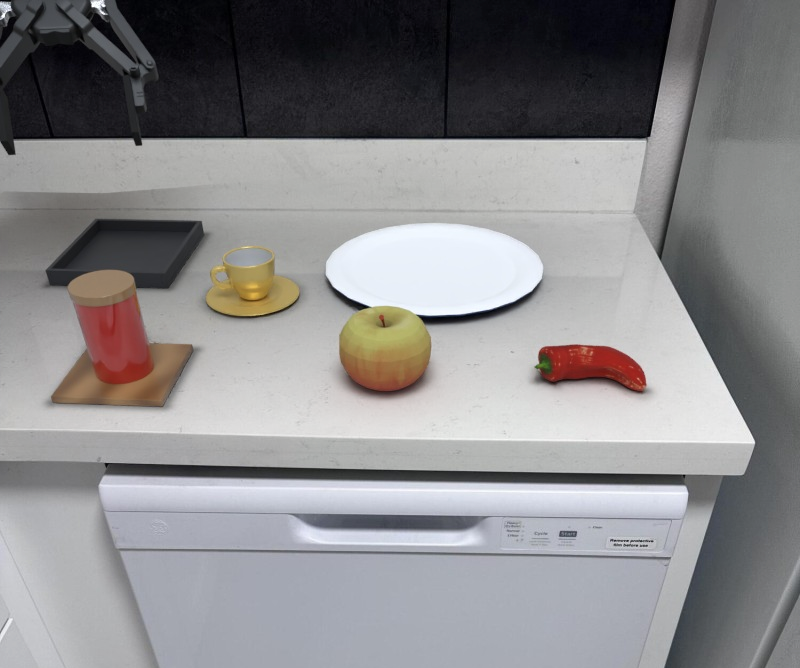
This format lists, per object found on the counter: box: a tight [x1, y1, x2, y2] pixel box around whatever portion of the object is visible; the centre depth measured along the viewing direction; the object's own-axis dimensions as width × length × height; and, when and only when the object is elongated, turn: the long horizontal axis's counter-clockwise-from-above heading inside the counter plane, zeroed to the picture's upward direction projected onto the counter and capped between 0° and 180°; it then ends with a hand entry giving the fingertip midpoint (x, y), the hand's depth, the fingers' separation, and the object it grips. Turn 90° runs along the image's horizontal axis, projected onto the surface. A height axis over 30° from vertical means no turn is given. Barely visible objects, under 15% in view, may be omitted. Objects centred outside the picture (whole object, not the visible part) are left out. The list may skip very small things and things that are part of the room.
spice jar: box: [67, 270, 154, 384], centre depth 84 cm, size 7×7×10 cm
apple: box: [338, 306, 432, 392], centre depth 84 cm, size 10×10×8 cm
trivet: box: [50, 342, 194, 408], centre depth 88 cm, size 12×12×1 cm
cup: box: [205, 245, 300, 317], centre depth 100 cm, size 12×12×5 cm
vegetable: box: [533, 344, 647, 392], centre depth 85 cm, size 4×5×12 cm
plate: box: [325, 222, 544, 318], centre depth 106 cm, size 29×29×2 cm
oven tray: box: [44, 218, 205, 289], centre depth 111 cm, size 16×18×2 cm
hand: (73, 144), depth 86 cm, fingers open, 13 cm apart
